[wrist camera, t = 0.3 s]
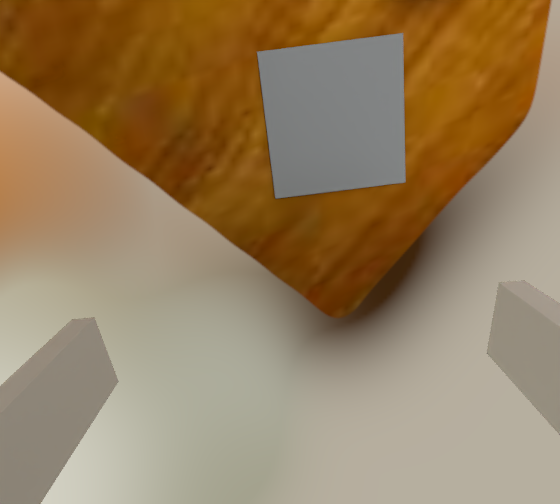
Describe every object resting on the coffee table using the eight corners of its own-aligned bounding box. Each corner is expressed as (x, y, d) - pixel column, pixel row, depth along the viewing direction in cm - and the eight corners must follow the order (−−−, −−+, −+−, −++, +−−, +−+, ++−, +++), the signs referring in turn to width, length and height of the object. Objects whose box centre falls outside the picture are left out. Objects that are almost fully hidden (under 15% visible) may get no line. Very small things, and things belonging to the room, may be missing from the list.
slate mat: (257, 54, 31) (257, 51, 30) (400, 35, 31) (402, 33, 30) (275, 198, 35) (275, 198, 34) (403, 182, 34) (405, 182, 34)
